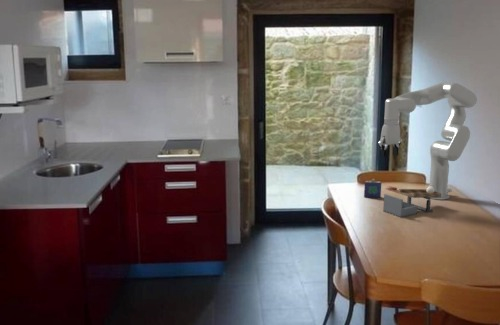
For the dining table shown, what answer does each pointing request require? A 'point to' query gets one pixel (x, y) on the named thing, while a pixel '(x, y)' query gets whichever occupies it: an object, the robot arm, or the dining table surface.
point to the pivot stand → (420, 206)
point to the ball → (430, 190)
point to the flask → (372, 189)
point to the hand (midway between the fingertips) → (389, 155)
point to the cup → (398, 206)
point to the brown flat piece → (415, 193)
